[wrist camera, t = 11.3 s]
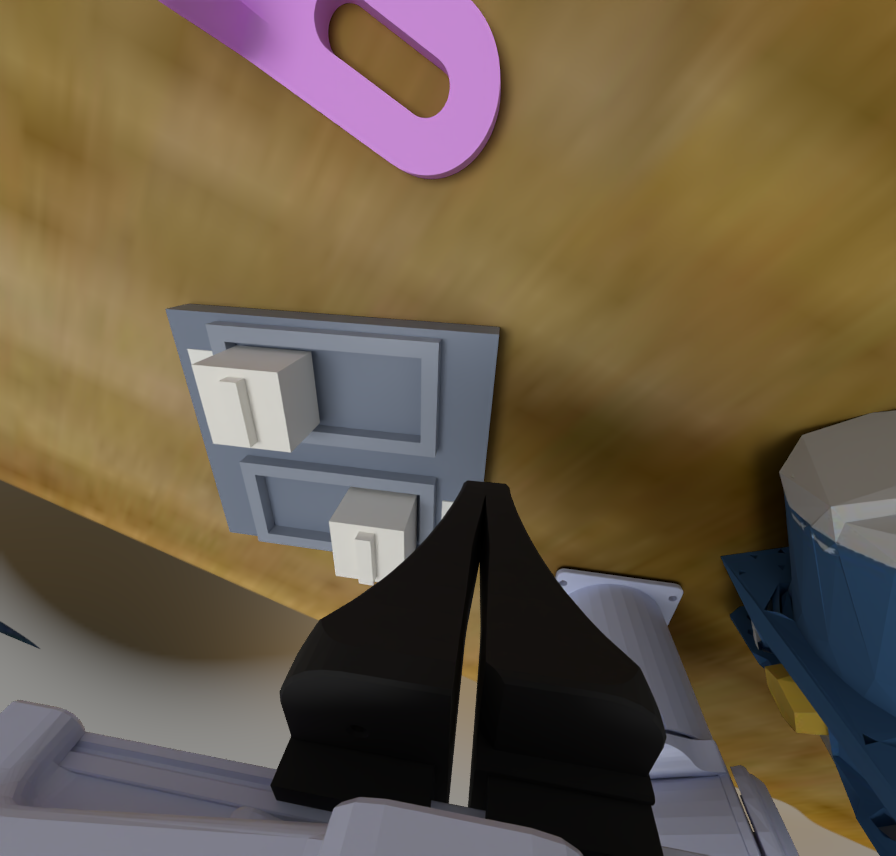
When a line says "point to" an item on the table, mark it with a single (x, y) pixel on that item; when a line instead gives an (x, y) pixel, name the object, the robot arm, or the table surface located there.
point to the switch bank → (351, 416)
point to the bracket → (353, 96)
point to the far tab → (373, 533)
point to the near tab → (258, 397)
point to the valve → (834, 608)
